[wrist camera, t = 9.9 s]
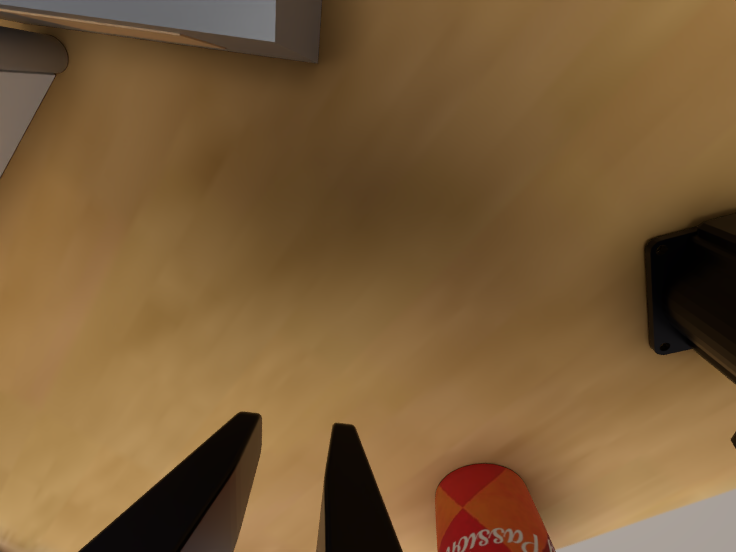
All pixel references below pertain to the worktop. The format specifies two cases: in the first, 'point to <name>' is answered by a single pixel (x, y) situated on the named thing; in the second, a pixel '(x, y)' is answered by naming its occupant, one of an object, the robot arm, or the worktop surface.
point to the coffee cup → (487, 513)
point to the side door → (24, 82)
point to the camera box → (188, 22)
